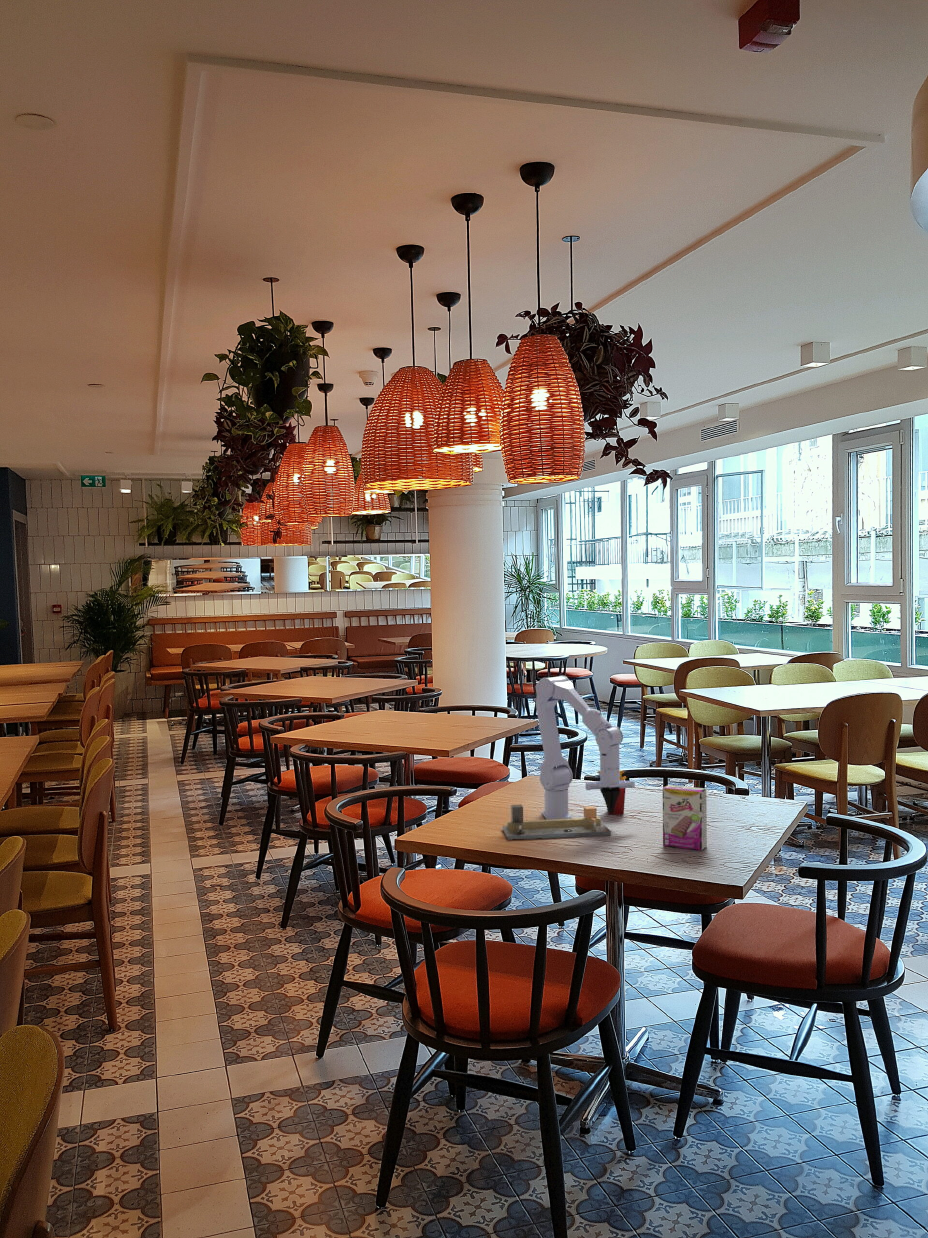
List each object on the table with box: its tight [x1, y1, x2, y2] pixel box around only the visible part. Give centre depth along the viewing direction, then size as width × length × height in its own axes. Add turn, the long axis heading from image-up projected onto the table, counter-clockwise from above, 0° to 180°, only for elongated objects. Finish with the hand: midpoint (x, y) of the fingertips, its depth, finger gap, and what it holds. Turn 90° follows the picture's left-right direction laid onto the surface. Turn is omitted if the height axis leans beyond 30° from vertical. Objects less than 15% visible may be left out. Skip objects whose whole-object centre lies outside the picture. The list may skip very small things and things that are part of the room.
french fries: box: [596, 769, 627, 816], centre depth 301 cm, size 9×8×15 cm
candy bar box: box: [662, 784, 708, 851], centre depth 262 cm, size 11×5×16 cm, turn 59°
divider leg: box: [583, 805, 598, 829], centre depth 281 cm, size 8×3×5 cm, turn 5°
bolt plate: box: [502, 804, 612, 841], centre depth 280 cm, size 12×30×8 cm, turn 95°
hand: (610, 812), depth 284 cm, fingers closed
